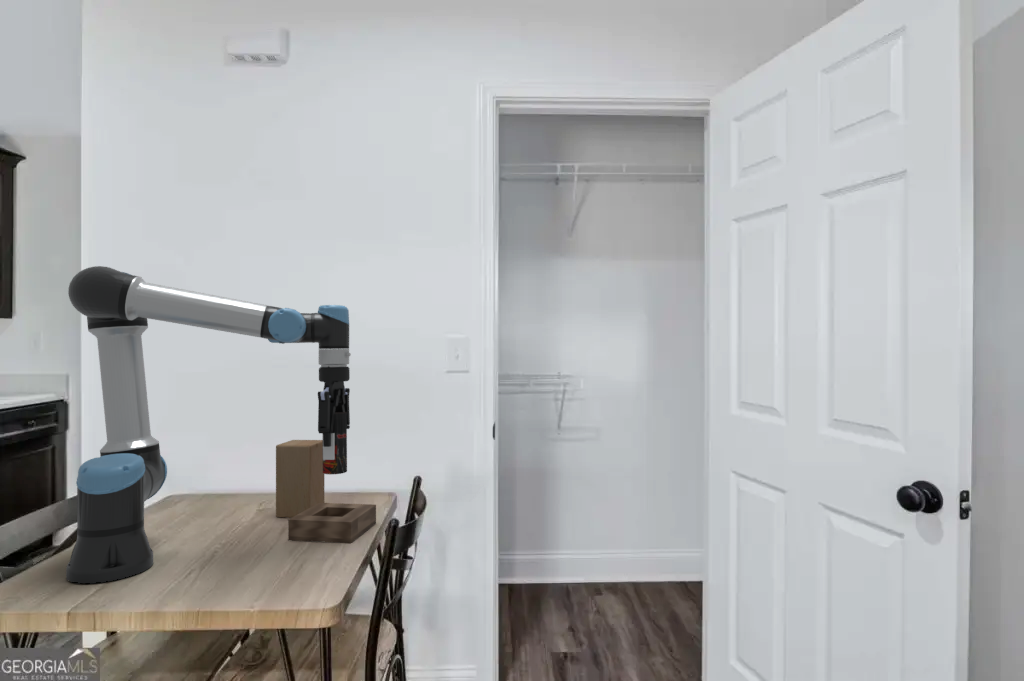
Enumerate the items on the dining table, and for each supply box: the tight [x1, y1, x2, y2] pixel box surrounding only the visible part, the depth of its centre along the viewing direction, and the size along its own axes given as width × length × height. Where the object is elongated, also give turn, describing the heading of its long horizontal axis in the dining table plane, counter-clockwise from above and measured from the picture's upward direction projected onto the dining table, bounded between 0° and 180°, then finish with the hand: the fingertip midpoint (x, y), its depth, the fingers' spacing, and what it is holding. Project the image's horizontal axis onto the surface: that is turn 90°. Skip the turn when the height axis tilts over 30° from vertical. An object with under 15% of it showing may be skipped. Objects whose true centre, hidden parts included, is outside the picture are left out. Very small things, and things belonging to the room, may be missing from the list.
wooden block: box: [275, 439, 325, 519], centre depth 167 cm, size 10×10×20 cm
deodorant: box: [323, 412, 348, 475], centre depth 150 cm, size 6×6×15 cm
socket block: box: [287, 502, 377, 544], centre depth 149 cm, size 16×16×5 cm
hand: (334, 456), depth 150 cm, fingers closed on deodorant, 6 cm apart
